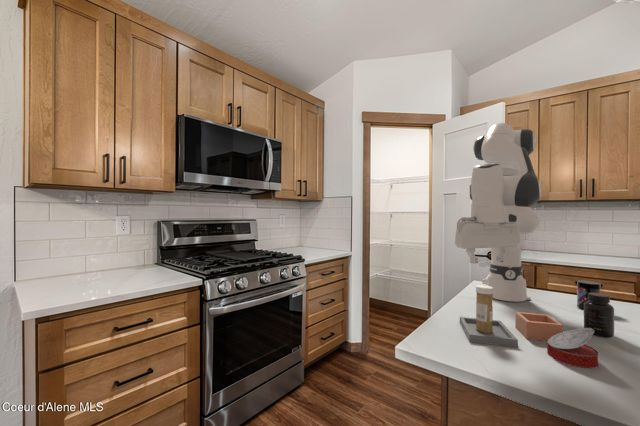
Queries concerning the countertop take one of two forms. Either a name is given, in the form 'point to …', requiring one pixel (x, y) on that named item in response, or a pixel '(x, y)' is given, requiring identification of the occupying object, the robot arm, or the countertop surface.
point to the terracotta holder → (537, 326)
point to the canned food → (573, 348)
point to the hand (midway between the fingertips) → (487, 262)
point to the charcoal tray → (496, 337)
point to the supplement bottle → (599, 315)
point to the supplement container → (586, 291)
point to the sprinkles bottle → (484, 308)
